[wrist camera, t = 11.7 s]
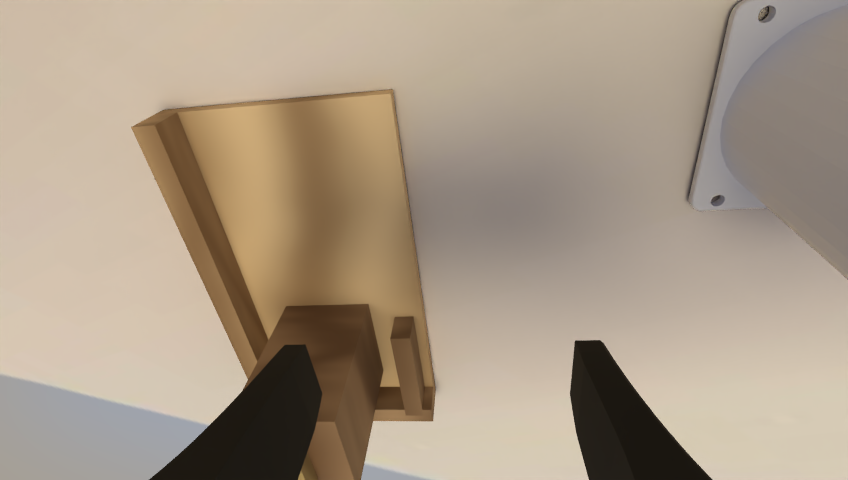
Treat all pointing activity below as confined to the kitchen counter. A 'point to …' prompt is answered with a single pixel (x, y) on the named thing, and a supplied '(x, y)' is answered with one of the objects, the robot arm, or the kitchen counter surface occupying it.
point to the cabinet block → (334, 382)
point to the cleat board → (300, 222)
